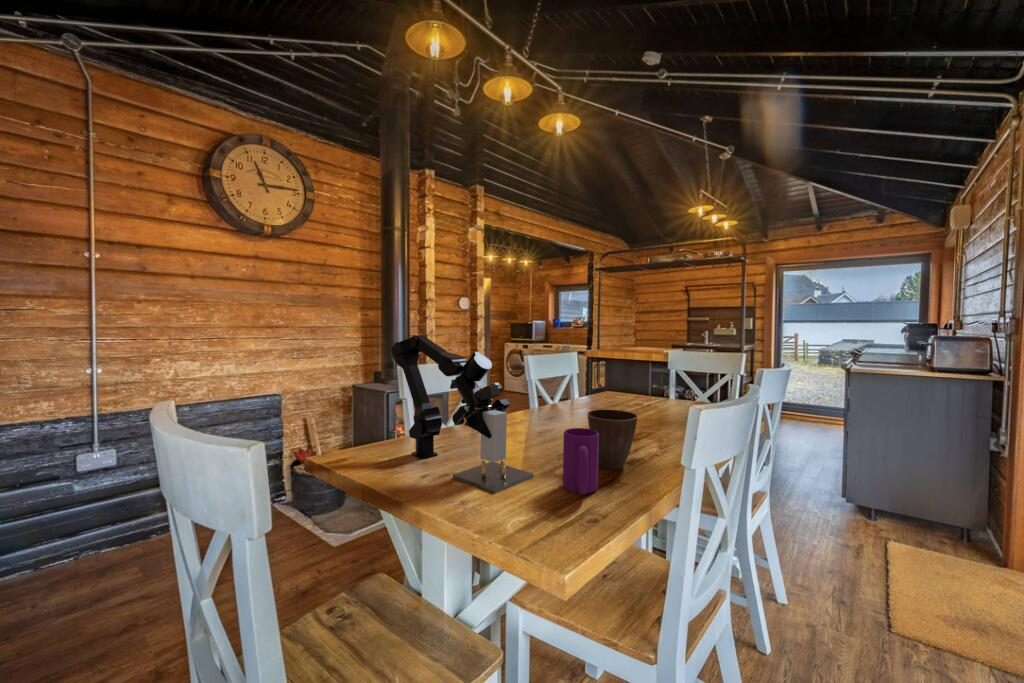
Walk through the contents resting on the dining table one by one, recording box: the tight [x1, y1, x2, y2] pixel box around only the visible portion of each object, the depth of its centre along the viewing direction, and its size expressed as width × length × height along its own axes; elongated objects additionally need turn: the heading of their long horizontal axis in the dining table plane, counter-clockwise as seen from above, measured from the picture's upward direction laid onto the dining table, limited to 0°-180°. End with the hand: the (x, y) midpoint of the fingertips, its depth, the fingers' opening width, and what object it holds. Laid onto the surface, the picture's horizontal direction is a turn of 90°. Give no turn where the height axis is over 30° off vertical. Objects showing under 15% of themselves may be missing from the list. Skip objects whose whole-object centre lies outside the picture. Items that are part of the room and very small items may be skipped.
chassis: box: [452, 459, 534, 494], centre depth 122 cm, size 16×16×4 cm
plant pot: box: [587, 409, 639, 471], centre depth 133 cm, size 15×15×16 cm
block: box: [480, 410, 508, 463], centre depth 121 cm, size 5×5×13 cm
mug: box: [562, 427, 599, 495], centre depth 112 cm, size 9×16×15 cm, turn 176°
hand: (497, 435), depth 120 cm, fingers closed on block, 5 cm apart
